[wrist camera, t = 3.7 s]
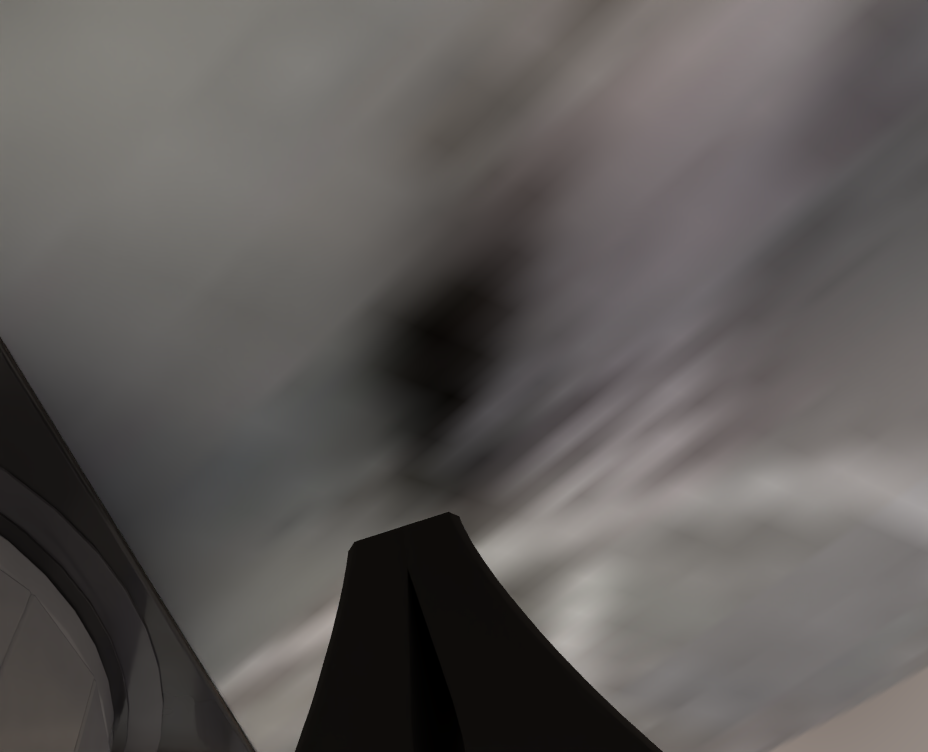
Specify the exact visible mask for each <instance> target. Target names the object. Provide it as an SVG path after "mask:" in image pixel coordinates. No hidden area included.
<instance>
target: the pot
mask: <svg viewBox="0 0 928 752" xmlns="http://www.w3.org/2000/svg"><path fill="white" fill-rule="evenodd" d="M113 722H114V711H113V705H112V699H111V693H110V687H109V681H108V678H107V675H106V673H105V670H104V667H103V665H102V662H101V659H100V657H99V654H98V651H97V649H96V646H95V644H94V642H93V640H92V639H91V637H90V635H89V634H88V632H87V630H86V628H85V627H84V625H83V623H82V622H81V620H80V618H79V617H78V615H77V613H76V612H75V610H74V609H73V608H72V606H71V605H70V604H69V603H68V601H67V600H66V599H65V598H64V597H63V595H62V594H61V593H60V592H59V591H58V589H57V588H56V587H55V586H54V585H53V583H52V582H51V581H50V580H49V578H48V577H47V576H46V575H45V574H44V573H43V572H42V571H41V570H40V569H38V568H37V567H36V566H35V565H34V564H33V563H32V562H31V561H30V560H29V559H28V558H27V557H25V556H24V555H23V554H22V553H21V552H20V551H19V550H18V549H17V548H16V547H15V546H14V545H12V544H11V543H10V542H9V541H8V540H7V539H5V538H4V537H2V536H1V535H0V752H111V750H112V745H113Z"/></svg>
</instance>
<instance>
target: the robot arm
mask: <svg viewBox="0 0 928 752" xmlns="http://www.w3.org/2000/svg"><path fill="white" fill-rule="evenodd" d="M295 752H663V751H662V750H660V749H659V748H658V747H657V746H656V745H655V744H654V743H652V742H651V741H650V740H649V739H648V738H647V737H646V736H645V735H644V734H642V733H641V732H640V731H639V730H638V729H637V728H636V727H635V726H633V725H632V724H631V723H630V722H629V721H628V720H627V719H626V718H625V717H624V716H622V715H621V714H620V713H619V712H618V711H617V710H616V709H615V708H614V707H613V706H612V705H611V704H610V703H609V702H608V701H607V700H606V699H604V698H603V697H602V696H601V695H600V694H599V693H598V692H597V691H596V690H595V689H594V688H593V687H592V686H591V685H590V684H589V683H588V682H587V681H586V680H585V679H584V678H583V677H582V676H581V675H580V674H579V673H578V672H577V670H576V669H575V668H574V667H573V666H572V665H571V664H570V663H569V662H568V661H567V660H566V659H565V658H564V657H563V656H562V655H561V654H560V653H559V652H558V651H557V650H556V649H555V647H554V646H553V645H552V644H551V643H550V642H549V641H548V640H547V639H546V638H545V636H544V635H543V634H542V633H541V632H540V631H539V630H538V629H537V627H536V626H535V625H534V624H533V623H532V621H531V620H530V619H529V618H528V617H527V616H526V614H525V613H524V612H523V611H522V610H521V608H520V607H519V606H518V605H517V604H516V603H515V601H514V600H513V599H512V598H511V597H510V595H509V594H508V593H507V591H506V590H505V589H504V588H503V586H502V585H501V584H500V582H499V581H498V580H497V578H496V577H495V576H494V574H493V573H492V571H491V570H490V569H489V567H488V566H487V565H486V563H485V562H484V560H483V559H482V557H481V556H480V554H479V553H478V551H477V550H476V548H475V546H474V545H473V543H472V542H471V540H470V538H469V536H468V534H467V532H466V531H465V529H464V527H463V525H462V522H461V520H460V517H459V516H457V515H455V514H452V513H450V512H447V513H443V514H440V515H437V516H434V517H431V518H428V519H425V520H422V521H418V522H415V523H412V524H409V525H406V526H403V527H400V528H396V529H393V530H390V531H387V532H384V533H381V534H378V535H375V536H371V537H368V538H365V539H362V540H359V541H356V542H354V544H353V545H352V547H351V548H350V550H349V551H348V558H347V566H346V571H345V577H344V582H343V587H342V592H341V597H340V601H339V606H338V610H337V614H336V618H335V622H334V627H333V631H332V635H331V639H330V642H329V646H328V649H327V653H326V656H325V660H324V663H323V667H322V670H321V674H320V677H319V681H318V684H317V688H316V691H315V694H314V697H313V701H312V704H311V707H310V710H309V713H308V716H307V719H306V721H305V724H304V727H303V730H302V733H301V736H300V739H299V742H298V744H297V747H296V750H295Z"/></svg>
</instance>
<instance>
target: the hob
mask: <svg viewBox="0 0 928 752" xmlns="http://www.w3.org/2000/svg"><path fill="white" fill-rule="evenodd" d="M0 535H1V536H2V537H4V538H5V539H7V540H8V541H9V542H10V543H11V544H12V545H14V546H15V547H16V548H17V549H18V550H19V551H20V552H21V553H22V554H23V555H24V556H25V557H27V558H28V559H29V560H30V561H31V562H32V563H33V564H34V565H35V566H36V567H37V568H38V569H40V570H41V571H42V572H43V573H44V574H45V575H46V576H47V577H48V578H49V580H50V581H51V582H52V583H53V585H54V586H55V587H56V588H57V589H58V591H59V592H60V593H61V594H62V595H63V597H64V598H65V599H66V600H67V601H68V603H69V604H70V605H71V606H72V608H73V609H74V610H75V612H76V613H77V615H78V617H79V618H80V620H81V622H82V623H83V625H84V627H85V628H86V630H87V632H88V634H89V635H90V637H91V639H92V640H93V642H94V644H95V646H96V649H97V651H98V654H99V657H100V659H101V662H102V665H103V667H104V670H105V673H106V675H107V678H108V681H109V687H110V693H111V699H112V705H113V711H114V722H113V745H112V750H111V752H255V751H254V750H253V748H252V746H251V745H250V743H249V741H248V740H247V738H246V736H245V735H244V733H243V732H242V730H241V728H240V727H239V725H238V723H237V722H236V720H235V719H234V717H233V715H232V714H231V712H230V710H229V709H228V707H227V706H226V704H225V702H224V701H223V699H222V697H221V696H220V694H219V693H218V691H217V689H216V688H215V686H214V684H213V683H212V681H211V680H210V678H209V676H208V675H207V673H206V671H205V670H204V668H203V666H202V665H201V663H200V662H199V660H198V658H197V657H196V655H195V653H194V652H193V650H192V649H191V647H190V645H189V644H188V642H187V640H186V639H185V637H184V636H183V634H182V632H181V631H180V629H179V627H178V626H177V624H176V623H175V621H174V619H173V618H172V616H171V614H170V613H169V611H168V610H167V608H166V606H165V605H164V603H163V601H162V600H161V598H160V596H159V595H158V593H157V592H156V590H155V588H154V587H153V585H152V583H151V582H150V580H149V579H148V577H147V575H146V574H145V572H144V570H143V569H142V567H141V566H140V564H139V562H138V561H137V559H136V557H135V556H134V554H133V553H132V551H131V549H130V548H129V546H128V544H127V543H126V541H125V540H124V538H123V536H122V535H121V533H120V531H119V530H118V528H117V526H116V525H115V523H114V522H113V520H112V518H111V517H110V515H109V513H108V512H107V510H106V509H105V507H104V505H103V504H102V502H101V500H100V499H99V497H98V496H97V494H96V492H95V491H94V489H93V487H92V486H91V484H90V483H89V481H88V479H87V478H86V476H85V474H84V473H83V471H82V469H81V468H80V466H79V465H78V463H77V461H76V460H75V458H74V456H73V455H72V453H71V452H70V450H69V448H68V447H67V445H66V443H65V442H64V440H63V439H62V437H61V435H60V434H59V432H58V430H57V429H56V427H55V426H54V424H53V422H52V421H51V419H50V417H49V416H48V414H47V413H46V411H45V409H44V408H43V406H42V404H41V403H40V401H39V399H38V398H37V396H36V395H35V393H34V391H33V390H32V388H31V386H30V385H29V383H28V382H27V380H26V378H25V377H24V375H23V373H22V372H21V370H20V369H19V367H18V365H17V364H16V362H15V360H14V359H13V357H12V356H11V354H10V352H9V351H8V349H7V347H6V346H5V344H4V343H3V341H2V339H1V338H0Z"/></svg>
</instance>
